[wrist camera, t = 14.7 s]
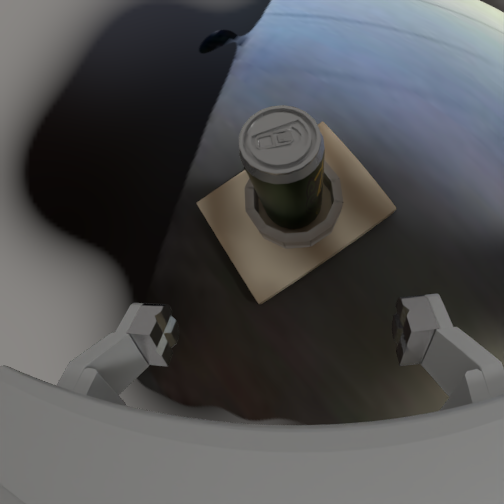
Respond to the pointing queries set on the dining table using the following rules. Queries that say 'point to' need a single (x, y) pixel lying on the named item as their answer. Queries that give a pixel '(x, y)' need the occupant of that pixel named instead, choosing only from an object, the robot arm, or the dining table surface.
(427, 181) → the dining table surface
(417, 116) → the dining table surface
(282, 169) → the beer can
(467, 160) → the dining table surface
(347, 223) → the board
